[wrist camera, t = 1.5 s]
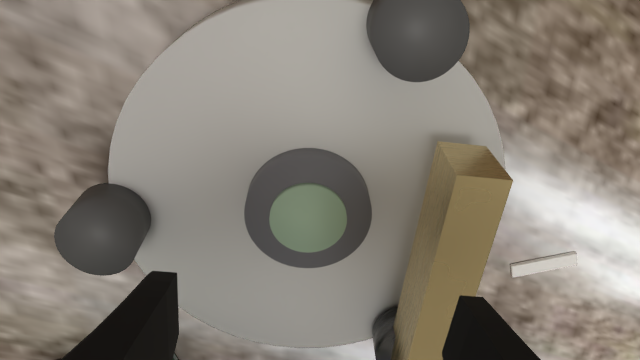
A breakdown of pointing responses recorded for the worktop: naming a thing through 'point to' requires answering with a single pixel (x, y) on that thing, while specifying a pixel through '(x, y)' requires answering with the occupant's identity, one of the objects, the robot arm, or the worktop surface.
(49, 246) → the worktop surface
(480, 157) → the lever
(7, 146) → the worktop surface
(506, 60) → the worktop surface
